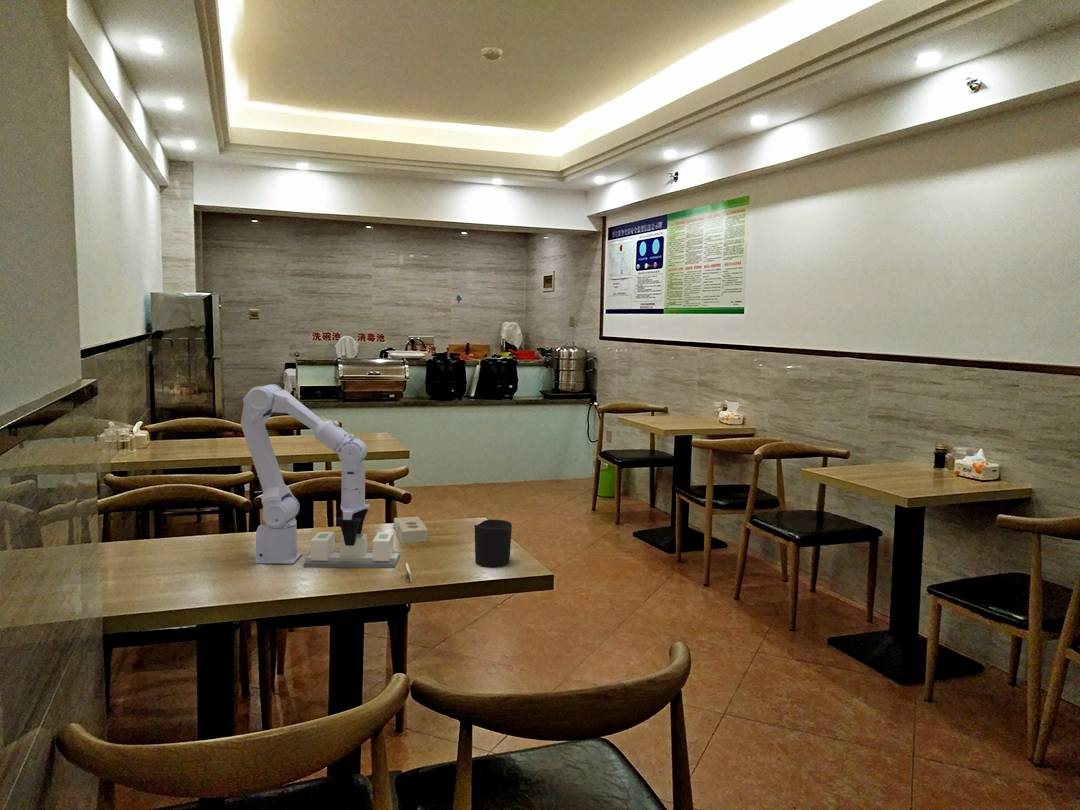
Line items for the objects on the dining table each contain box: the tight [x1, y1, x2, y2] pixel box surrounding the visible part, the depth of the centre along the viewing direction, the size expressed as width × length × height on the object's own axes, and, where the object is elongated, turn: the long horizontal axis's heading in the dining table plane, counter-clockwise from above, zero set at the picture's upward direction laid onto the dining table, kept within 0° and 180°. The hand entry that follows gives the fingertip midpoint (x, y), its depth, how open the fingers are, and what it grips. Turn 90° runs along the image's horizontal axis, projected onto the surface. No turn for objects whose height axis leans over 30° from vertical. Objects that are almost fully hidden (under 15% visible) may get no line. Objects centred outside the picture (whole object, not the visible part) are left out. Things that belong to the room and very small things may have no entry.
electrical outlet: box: [393, 516, 429, 545], centre depth 214 cm, size 7×4×18 cm
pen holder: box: [474, 519, 513, 568], centre depth 189 cm, size 9×9×10 cm
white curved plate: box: [401, 562, 413, 583], centre depth 176 cm, size 4×8×3 cm, turn 15°
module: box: [339, 533, 368, 557], centre depth 188 cm, size 6×4×5 cm, turn 93°
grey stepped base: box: [303, 531, 401, 569], centre depth 188 cm, size 22×10×7 cm, turn 93°
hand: (353, 540), depth 187 cm, fingers open, 7 cm apart
